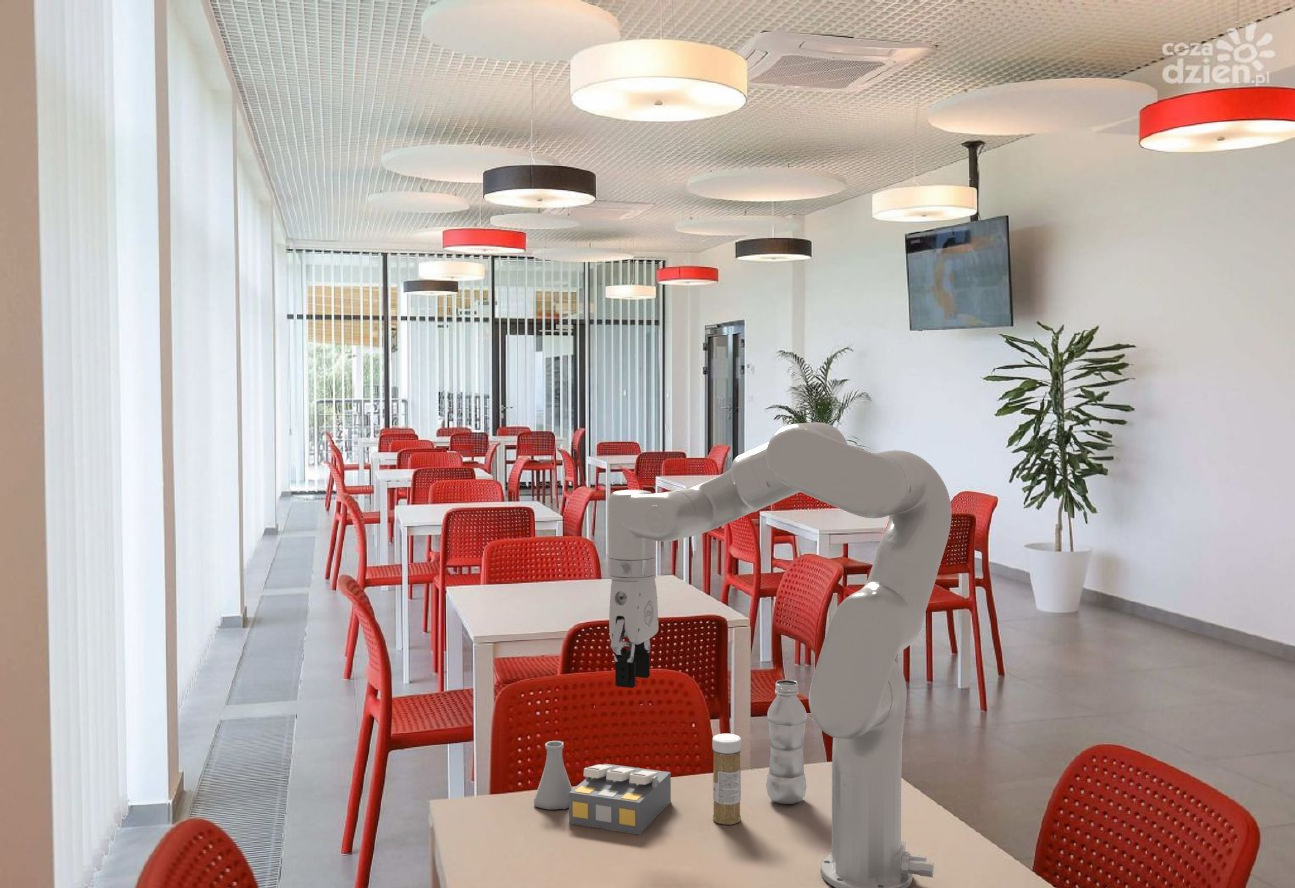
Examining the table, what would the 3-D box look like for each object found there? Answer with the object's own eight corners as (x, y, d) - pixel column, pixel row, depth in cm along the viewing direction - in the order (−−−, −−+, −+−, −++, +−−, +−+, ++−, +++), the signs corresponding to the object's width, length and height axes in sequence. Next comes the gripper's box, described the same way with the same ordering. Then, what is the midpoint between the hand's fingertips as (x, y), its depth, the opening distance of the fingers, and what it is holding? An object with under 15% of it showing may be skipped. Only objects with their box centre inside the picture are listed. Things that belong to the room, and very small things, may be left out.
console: (671, 801, 174) (670, 762, 174) (639, 835, 161) (639, 792, 161) (604, 792, 179) (604, 754, 178) (568, 823, 165) (568, 782, 165)
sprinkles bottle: (715, 813, 169) (714, 731, 169) (743, 815, 168) (743, 733, 168) (710, 824, 165) (710, 740, 164) (739, 827, 164) (739, 742, 163)
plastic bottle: (759, 798, 176) (758, 680, 175) (793, 791, 179) (793, 675, 178) (779, 811, 170) (779, 690, 169) (814, 804, 173) (814, 685, 172)
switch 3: (657, 779, 170) (658, 771, 171) (644, 784, 165) (645, 775, 165) (642, 777, 171) (643, 769, 172) (629, 782, 166) (629, 773, 166)
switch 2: (635, 776, 172) (635, 768, 172) (621, 781, 166) (621, 772, 167) (620, 774, 173) (621, 766, 173) (606, 779, 167) (606, 770, 168)
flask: (569, 813, 170) (569, 752, 170) (527, 809, 172) (526, 749, 171) (581, 796, 177) (581, 738, 177) (540, 793, 179) (540, 735, 178)
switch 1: (612, 773, 173) (613, 765, 174) (598, 778, 168) (598, 769, 168) (598, 771, 174) (598, 763, 175) (583, 776, 169) (584, 767, 169)
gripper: (634, 578, 156) (634, 698, 157) (672, 561, 172) (673, 670, 173) (588, 575, 159) (589, 693, 159) (630, 559, 175) (631, 666, 175)
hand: (632, 680), depth 166 cm, fingers open, 5 cm apart
